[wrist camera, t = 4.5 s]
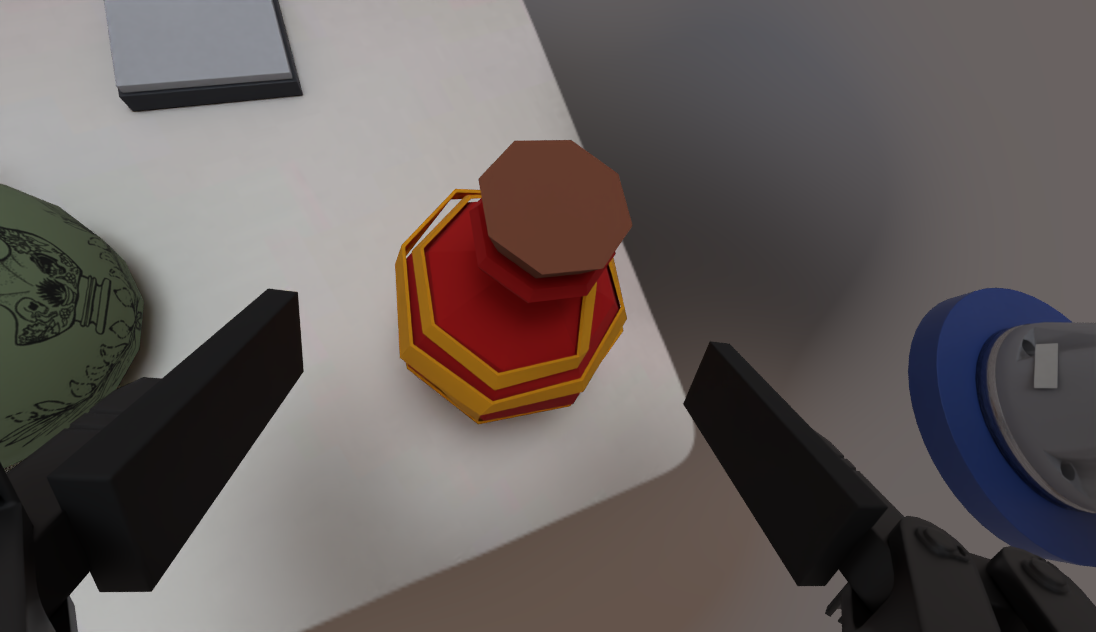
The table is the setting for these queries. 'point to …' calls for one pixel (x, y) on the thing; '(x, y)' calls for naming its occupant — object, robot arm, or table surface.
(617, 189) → the potion bottle
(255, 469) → the table surface
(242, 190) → the table surface
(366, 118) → the table surface
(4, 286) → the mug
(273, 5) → the scale
